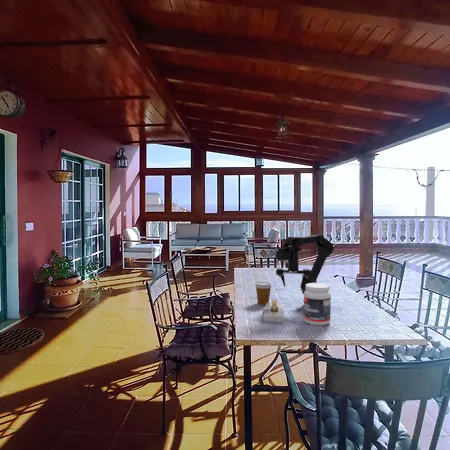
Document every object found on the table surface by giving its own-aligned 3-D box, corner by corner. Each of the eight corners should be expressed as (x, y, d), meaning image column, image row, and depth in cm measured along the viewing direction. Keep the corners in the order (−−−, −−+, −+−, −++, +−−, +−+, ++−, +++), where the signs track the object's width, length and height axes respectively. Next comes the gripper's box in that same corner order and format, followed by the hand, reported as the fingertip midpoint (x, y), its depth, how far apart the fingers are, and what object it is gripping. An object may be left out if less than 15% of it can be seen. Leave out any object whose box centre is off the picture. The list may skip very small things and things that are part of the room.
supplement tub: (298, 322, 175) (298, 285, 174) (312, 316, 184) (312, 281, 183) (321, 328, 166) (322, 289, 165) (335, 322, 175) (336, 285, 174)
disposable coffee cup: (258, 306, 203) (258, 285, 203) (252, 302, 212) (252, 282, 212) (274, 305, 206) (274, 284, 205) (267, 301, 215) (267, 281, 214)
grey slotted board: (284, 308, 198) (284, 303, 198) (284, 322, 175) (284, 316, 174) (265, 308, 200) (265, 302, 200) (263, 321, 176) (263, 315, 176)
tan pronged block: (276, 312, 190) (276, 299, 190) (276, 316, 184) (276, 303, 183) (272, 312, 191) (272, 299, 190) (271, 316, 184) (272, 303, 184)
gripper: (309, 257, 203) (309, 284, 204) (276, 257, 207) (276, 283, 207) (311, 260, 192) (310, 289, 193) (276, 259, 196) (276, 288, 196)
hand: (293, 287), depth 198 cm, fingers open, 9 cm apart
